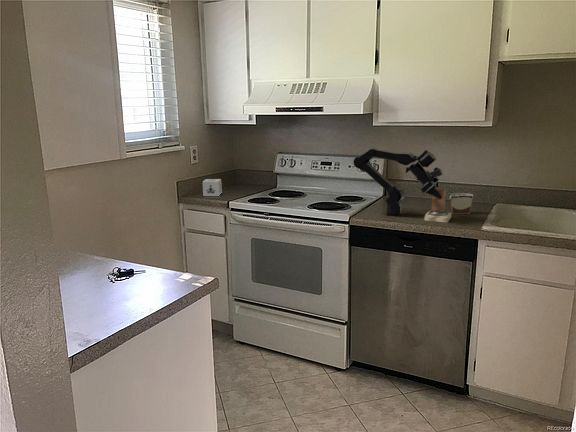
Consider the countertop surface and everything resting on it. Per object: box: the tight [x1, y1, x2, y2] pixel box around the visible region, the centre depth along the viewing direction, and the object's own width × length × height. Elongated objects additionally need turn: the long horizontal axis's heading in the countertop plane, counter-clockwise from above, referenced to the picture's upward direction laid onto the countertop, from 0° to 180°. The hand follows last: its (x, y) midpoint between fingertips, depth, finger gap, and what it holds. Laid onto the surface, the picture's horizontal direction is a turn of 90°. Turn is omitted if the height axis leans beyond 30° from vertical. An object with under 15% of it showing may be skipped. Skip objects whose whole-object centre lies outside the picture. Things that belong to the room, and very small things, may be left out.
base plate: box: [424, 210, 452, 223], centre depth 235 cm, size 11×11×3 cm
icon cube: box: [202, 178, 223, 197], centre depth 305 cm, size 10×10×10 cm
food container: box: [449, 192, 475, 215], centre depth 247 cm, size 12×6×10 cm, turn 92°
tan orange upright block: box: [431, 186, 447, 212], centre depth 233 cm, size 6×6×11 cm
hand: (441, 197), depth 232 cm, fingers closed on tan orange upright block, 5 cm apart
